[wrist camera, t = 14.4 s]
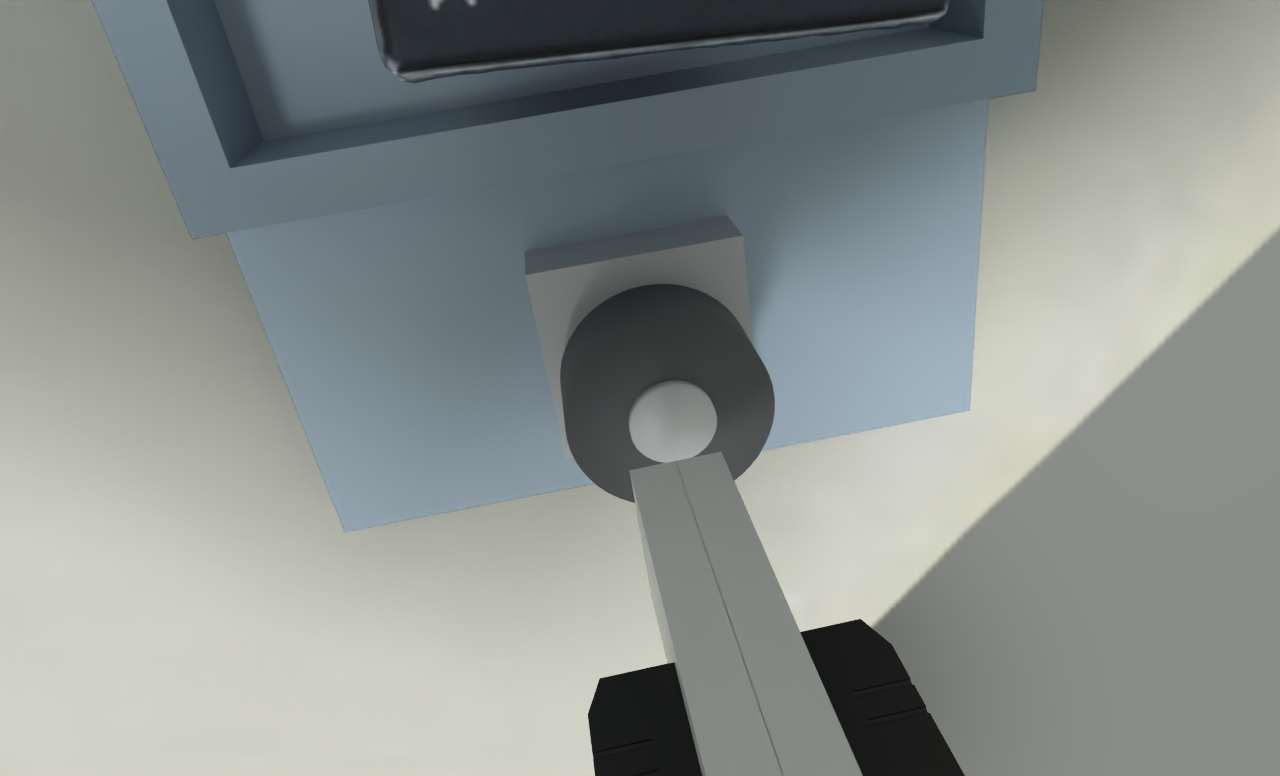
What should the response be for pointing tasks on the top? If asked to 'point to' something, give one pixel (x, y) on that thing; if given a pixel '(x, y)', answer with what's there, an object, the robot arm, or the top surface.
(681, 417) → the dark grey knob
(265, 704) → the top surface
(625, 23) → the small box
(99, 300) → the top surface
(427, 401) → the chassis
